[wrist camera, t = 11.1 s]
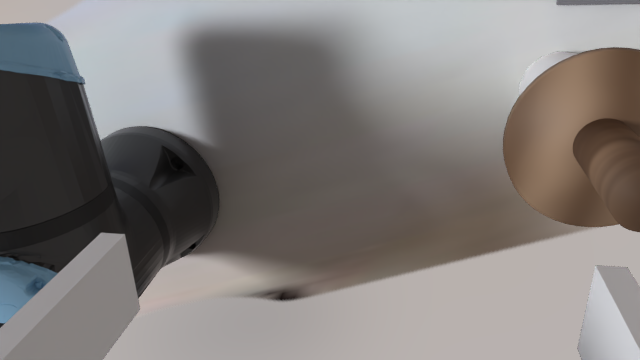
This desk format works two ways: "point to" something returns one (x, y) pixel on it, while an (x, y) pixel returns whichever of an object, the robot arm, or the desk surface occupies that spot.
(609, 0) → the mat
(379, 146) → the desk surface
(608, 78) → the lid
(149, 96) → the desk surface
